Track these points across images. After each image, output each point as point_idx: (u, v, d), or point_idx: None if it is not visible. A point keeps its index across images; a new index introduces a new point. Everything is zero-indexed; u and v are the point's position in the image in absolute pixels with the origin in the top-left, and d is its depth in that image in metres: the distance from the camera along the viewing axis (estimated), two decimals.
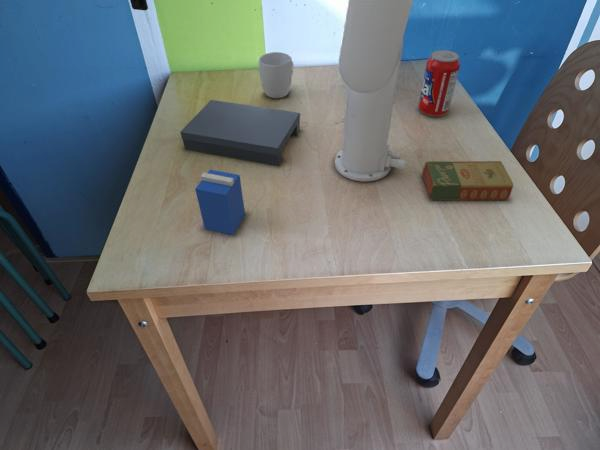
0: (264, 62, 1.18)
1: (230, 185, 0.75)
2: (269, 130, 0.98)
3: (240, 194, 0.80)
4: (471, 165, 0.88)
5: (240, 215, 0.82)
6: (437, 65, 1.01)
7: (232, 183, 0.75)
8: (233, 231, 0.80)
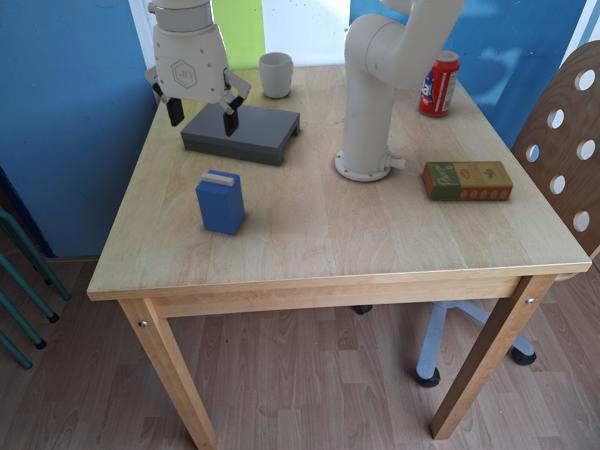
0: (264, 62, 1.18)
1: (230, 185, 0.75)
2: (269, 130, 0.98)
3: (240, 194, 0.80)
4: (471, 165, 0.88)
5: (240, 215, 0.82)
6: (437, 65, 1.01)
7: (232, 183, 0.75)
8: (233, 231, 0.80)
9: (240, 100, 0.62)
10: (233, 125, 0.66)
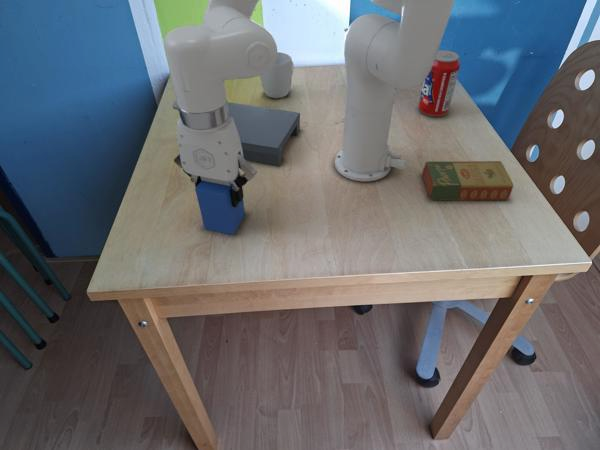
0: None
1: None
2: (269, 130, 0.98)
3: None
4: (471, 165, 0.88)
5: (240, 215, 0.82)
6: (437, 65, 1.01)
7: None
8: (233, 231, 0.80)
9: (244, 180, 0.73)
10: (238, 198, 0.76)
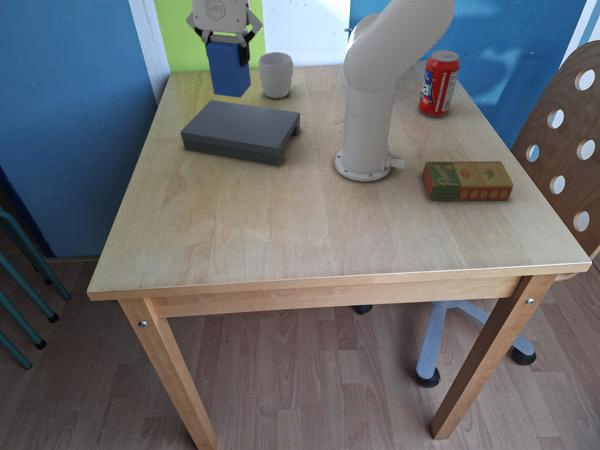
0: (264, 62, 1.18)
1: (238, 42, 0.82)
2: (269, 130, 0.98)
3: None
4: (471, 165, 0.88)
5: (246, 82, 0.89)
6: (437, 65, 1.01)
7: None
8: (241, 94, 0.87)
9: (252, 34, 0.80)
10: (246, 57, 0.83)
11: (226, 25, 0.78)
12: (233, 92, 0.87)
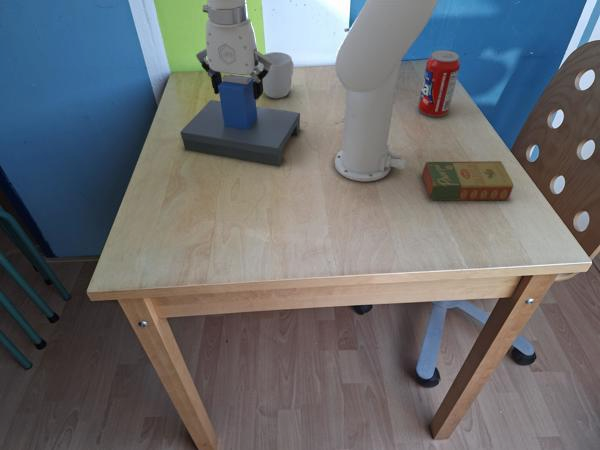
0: None
1: (246, 83, 0.92)
2: (269, 130, 0.98)
3: None
4: (471, 165, 0.88)
5: (253, 115, 0.99)
6: (437, 65, 1.01)
7: (248, 82, 0.93)
8: (248, 127, 0.98)
9: (265, 72, 0.89)
10: (259, 91, 0.93)
11: (236, 68, 0.88)
12: (241, 125, 0.97)
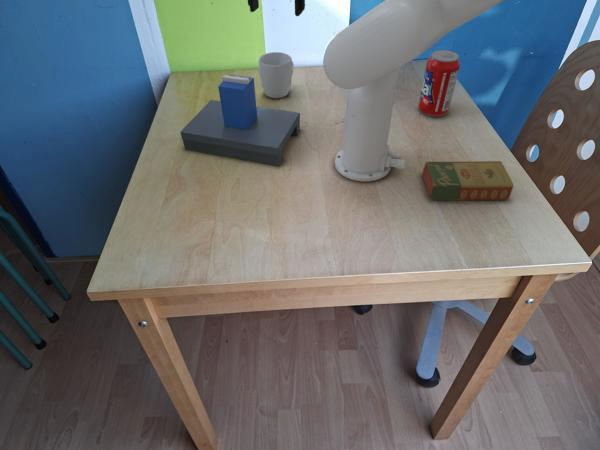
0: (264, 62, 1.18)
1: (246, 83, 0.92)
2: (269, 130, 0.98)
3: (254, 96, 0.98)
4: (471, 165, 0.88)
5: (253, 115, 0.99)
6: (437, 65, 1.01)
7: (248, 82, 0.93)
8: (248, 127, 0.98)
9: None
10: (301, 5, 0.84)
11: None
12: (241, 125, 0.97)
